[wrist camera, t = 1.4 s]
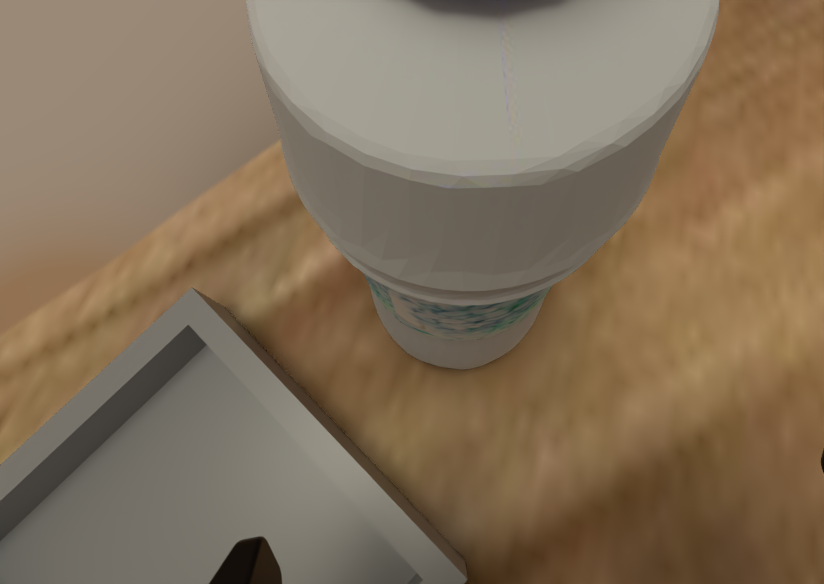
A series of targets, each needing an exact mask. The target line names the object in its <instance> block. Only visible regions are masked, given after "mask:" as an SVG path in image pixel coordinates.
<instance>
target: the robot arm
mask: <svg viewBox="0 0 824 584" xmlns="http://www.w3.org/2000/svg"><path fill="white" fill-rule="evenodd" d="M821 466H822V470H823V472H824V450H823V453H822V457H821ZM209 584H282V574H281V569H280V566H279V564H278V562H277V560H276V558H275V556H274V554H273V551H272V549H271V547H270V545H269V543H268V541H267V540H266V538H264V537H263V536H258V537H253V538H247V539H243V540H240V541H238V542H237V543H236V544H235V545H234V547H233V548H232V549H231V551H230V552H229V554H228V555H227V557H226V559H225V560H224V562H223V563H222V565H221V566H220V568H219V569H218V571H217V572H216V574H215V575H214V577H213V578H212V580H211V581H210V583H209Z"/></svg>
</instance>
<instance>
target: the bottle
mask: <svg viewBox="0 0 824 584" xmlns="http://www.w3.org/2000/svg"><path fill="white" fill-rule="evenodd" d="M246 6H247V12H248V20H249V26H250V32H251V40H252V44H253V48H254V51H255V55H256V58H257V61H258V64H259V67H260V71H261V74H262V77H263V81H264V84H265V87H266V90H267V93H268V97H269V100H270V103H271V106H272V110H273V113H274V116H275V119H276V122H277V126H278V129H279V134H280V138H281V143H282V150H283V155H284V158H285V161H286V165H287V168H288V171H289V174H290V178H291V181H292V183H293V185H294V187H295V189H296V191H297V193H298V195H299V197H300V199H301V201H302V203H303V204H304V206H305V208H306V210H307V211H308V212H309V213H310V215H311V216H312V217H313V219H314V220H315V221H316V222H317V224H318V225H319V226H320V227H321V229H322V230H323V231H324V232H325V233H326V235H327V236H328V238H329V239H330V241H331V242H332V244H333V245H334V246H335V247H336V248H337V249H338V250H339V251H340V252H341V253H342V254H343V256H344V257H345V258H346V259H347V260H348V261H349V262H350V263H351V264H352V265H353V266H355V267H356V268H357V269H359V270H360V271H361V272H363V273H364V275H365V277H366V279H367V281H368V283H369V285H370V288H371V293H372V298H373V302H374V305H375V307H376V310H377V312H378V315H379V317H380V320H381V322H382V324H383V325H384V327H385V328H386V330H387V331H388V333H389V334H390V336H391V337H392V338H393V339H394V340H395V342H396V343H397V344H398V345H399V346H400V347H401V348H402V349H403V350H404V351H405V352H406V353H408V354H410V355H411V356H413V357H415V358H416V359H418V360H421V361H423V362H426V363H429V364H432V365H435V366H439V367H445V368H452V369H462V370H465V369H472V368H476V367H480V366H483V365H485V364H487V363H489V362H491V361H493V360H495V359H497V358H500V357H501V356H503V355H504V354H506V353H507V352H509V351H510V350H511V349H513V348H514V347H515V346H516V345H517V344H518V343H519V342H520V341H521V340H522V339H523V338H524V336H525V335H526V334H527V332H528V331H529V329H530V328H531V327H532V325H533V323H534V322H535V320H536V318H537V316H538V313H539V311H540V309H541V307H542V304H543V301H544V298H545V296H546V295H547V293H548V292H549V290H550V289H551V287H552V286H553V284H555V283H557V282H559V281H561V280H563V279H564V278H566V277H567V276H569V275H570V274H572V273H573V272H575V271H576V270H577V269H578V268H579V267H580V266H582V265H583V264H584V263H585V262H586V261H587V260H588V259H589V258H590V257H591V256H592V255H593V254H594V253H595V252H596V251H597V250H598V249H599V248H600V247H601V246H602V245H603V244H604V243H605V242H606V241H607V240H609V239H610V238H611V237H612V236H613V235H614V234H615V233H616V232H617V231H618V230H619V229H620V228H621V227H622V226H623V225H624V224H625V223H626V222H627V220H628V219H629V218H630V216H631V215H632V214H633V212H634V211H635V210H636V208H637V207H638V205H639V204H640V202H641V200H642V198H643V197H644V195H645V193H646V191H647V190H648V188H649V186H650V183H651V181H652V178H653V176H654V173H655V171H656V168H657V166H658V162H659V158H660V155H661V152H662V150H663V148H664V146H665V143H666V141H667V139H668V137H669V135H670V133H671V131H672V129H673V126H674V124H675V122H676V120H677V118H678V116H679V114H680V111H681V109H682V107H683V105H684V103H685V101H686V99H687V96H688V94H689V92H690V90H691V88H692V86H693V84H694V81H695V79H696V77H697V75H698V73H699V71H700V69H701V67H702V64H703V62H704V59H705V57H706V54H707V51H708V48H709V46H710V43H711V40H712V37H713V35H714V31H715V27H716V22H717V18H718V13H719V0H246Z"/></svg>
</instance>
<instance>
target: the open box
mask: <svg viewBox="0 0 824 584" xmlns="http://www.w3.org/2000/svg"><path fill="white" fill-rule="evenodd" d="M258 536H263V537H264V538H266V540H267V541H268V543H269V545H270V547H271V549H272V551H273V554H274V556H275V558H276V560H277V562H278V564H279V566H280V569H281V574H282V584H464V583H465V582H466V581H467V580H468V578H467V571H466V564H465V559H464V558H463V557H462V556H461V555H460V554H459V553H458V552H457V551H456V550H455V549H454V548H453V547H452V546H451V545H450V544H449V543H448V541H447V540H446V539H445V538H444V537H443V536H442V535H441V534H440V533H439V532H438V531H437V530H436V529H435V528H434V527H433V526H432V525H431V524H430V523H429V522H428V521H427V519H426V518H425V517H424V516H423V515H422V514H421V513H420V512H419V511H418V510H417V509H416V508H415V507H414V506H413V505H412V504H411V503H410V502H409V501H408V500H407V498H406V497H405V496H404V495H403V494H402V493H401V492H400V491H399V490H398V489H397V488H396V487H395V486H394V485H393V484H392V483H391V482H390V481H389V480H388V479H387V477H386V476H385V475H384V474H383V473H382V472H381V471H380V470H379V469H378V468H377V467H376V466H375V465H374V464H373V463H372V462H371V461H370V460H369V459H368V458H367V456H366V455H365V454H364V453H363V452H362V451H361V450H360V449H359V448H358V447H357V446H356V445H355V444H354V443H353V442H352V441H351V440H350V439H349V438H348V437H347V435H346V434H345V433H344V432H343V431H342V430H341V429H340V428H339V427H338V426H337V425H336V424H335V423H334V422H333V421H332V420H331V419H330V418H329V417H328V416H327V415H326V413H325V412H324V411H323V410H322V409H321V408H320V407H319V406H318V405H317V404H316V403H315V402H314V401H313V400H312V399H311V398H310V397H309V396H308V395H307V394H306V392H305V391H304V390H303V389H302V388H301V387H300V386H299V385H298V384H297V383H296V382H295V381H294V380H293V379H292V378H291V377H290V376H289V375H288V374H287V373H286V371H285V370H284V369H283V368H282V367H281V366H280V365H279V364H278V363H277V362H276V361H275V360H274V359H273V358H272V357H271V356H270V355H269V354H268V353H267V352H266V350H265V349H264V348H263V347H262V346H261V345H260V344H259V343H258V342H257V341H256V340H255V339H254V338H253V337H252V336H251V335H250V334H249V333H248V332H247V331H246V329H245V328H244V327H243V326H242V325H241V324H240V323H239V322H238V321H237V320H236V319H235V318H234V317H233V316H232V315H231V314H230V313H229V312H228V311H227V310H226V309H225V307H224V306H222V305H220V304H219V303H217V302H215V301H214V300H212V299H210V298H209V297H207V296H205V295H204V294H202V293H200V292H199V291H197V290H195V289H194V288H191V289H190V290H189V291H188V292H186V293H185V294H184V295H183V296H182V297H181V298H180V299H179V300H178V301H177V302H176V303H175V304H174V305H172V306H171V307H170V308H169V309H168V310H167V311H166V312H165V313H164V314H163V315H162V316H161V317H160V318H158V319H157V320H156V321H155V322H154V323H153V324H152V325H151V326H150V327H149V328H148V329H147V330H145V331H144V332H143V333H142V334H141V335H140V336H139V337H138V338H137V339H136V340H135V341H134V342H133V343H131V344H130V345H129V346H128V347H127V348H126V349H125V350H124V351H123V352H122V353H121V354H120V355H119V356H117V357H116V358H115V359H114V360H113V361H112V362H111V363H110V364H109V365H108V366H107V367H106V368H105V369H103V370H102V371H101V372H100V373H99V374H98V375H97V376H96V377H95V378H94V379H93V380H92V381H90V382H89V383H88V384H87V385H86V386H85V387H84V388H83V389H82V390H81V391H80V392H79V393H78V394H76V395H75V396H74V397H73V398H72V399H71V400H70V401H69V402H68V403H67V404H66V405H65V406H64V407H62V408H61V409H60V410H59V411H58V412H57V413H56V414H55V415H54V416H53V417H52V418H51V419H50V420H48V421H47V422H46V423H45V424H44V425H43V426H42V427H41V428H40V429H39V430H38V431H37V432H35V433H34V434H33V435H32V436H31V437H30V438H29V439H28V440H27V441H26V442H25V443H24V444H23V445H21V446H20V447H19V448H18V449H17V450H16V451H15V452H14V453H13V454H12V455H11V456H10V457H9V458H7V459H6V460H5V461H4V462H3V463H2V464H1V465H0V584H209V583H210V581H211V580H212V578H213V577H214V575H215V574H216V572H217V571H218V569H219V568H220V566H221V565H222V563H223V562H224V560H225V559H226V557H227V555H228V554H229V552H230V551H231V549H232V548H233V547H234V545H235V544H236V543H237V542H238V541H240V540H243V539H247V538H253V537H258Z"/></svg>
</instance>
